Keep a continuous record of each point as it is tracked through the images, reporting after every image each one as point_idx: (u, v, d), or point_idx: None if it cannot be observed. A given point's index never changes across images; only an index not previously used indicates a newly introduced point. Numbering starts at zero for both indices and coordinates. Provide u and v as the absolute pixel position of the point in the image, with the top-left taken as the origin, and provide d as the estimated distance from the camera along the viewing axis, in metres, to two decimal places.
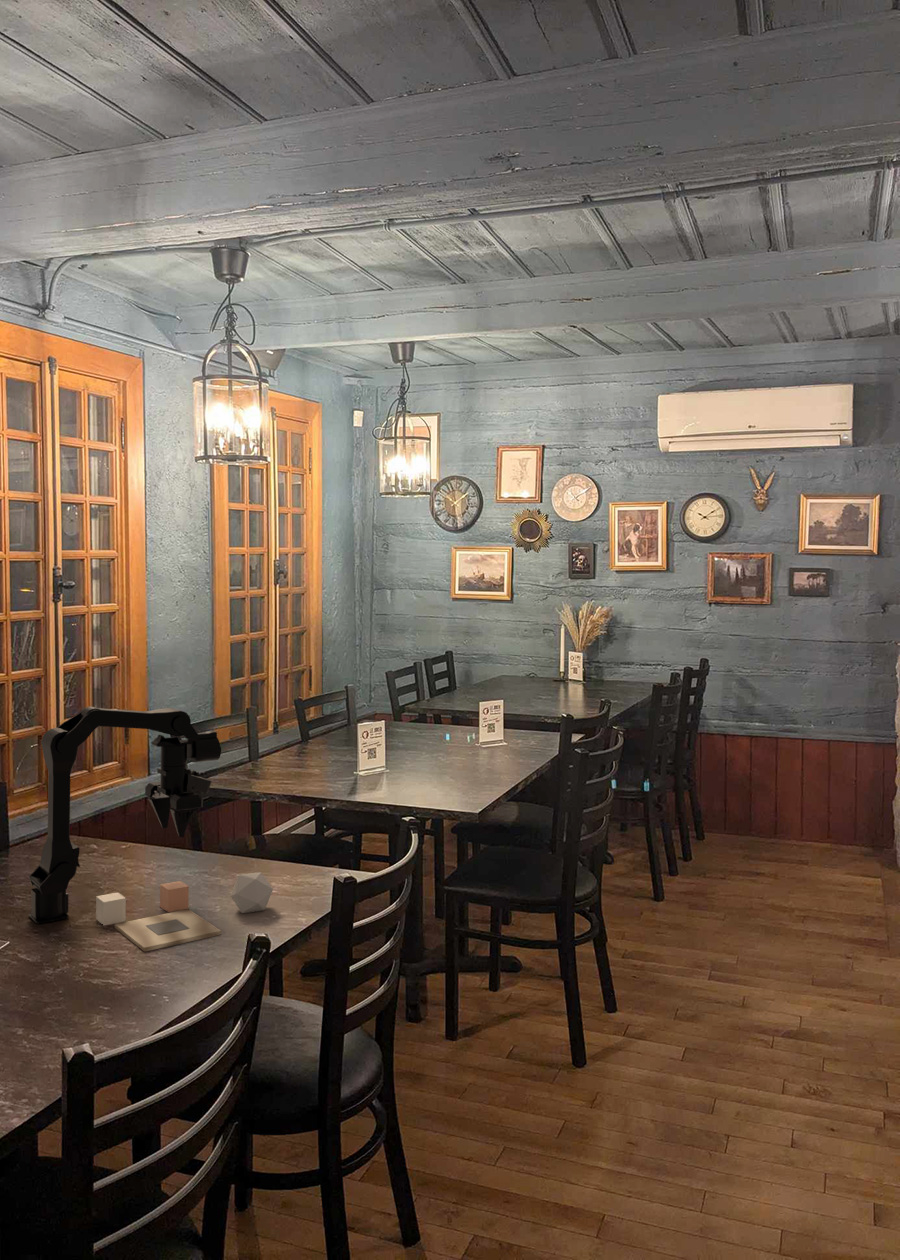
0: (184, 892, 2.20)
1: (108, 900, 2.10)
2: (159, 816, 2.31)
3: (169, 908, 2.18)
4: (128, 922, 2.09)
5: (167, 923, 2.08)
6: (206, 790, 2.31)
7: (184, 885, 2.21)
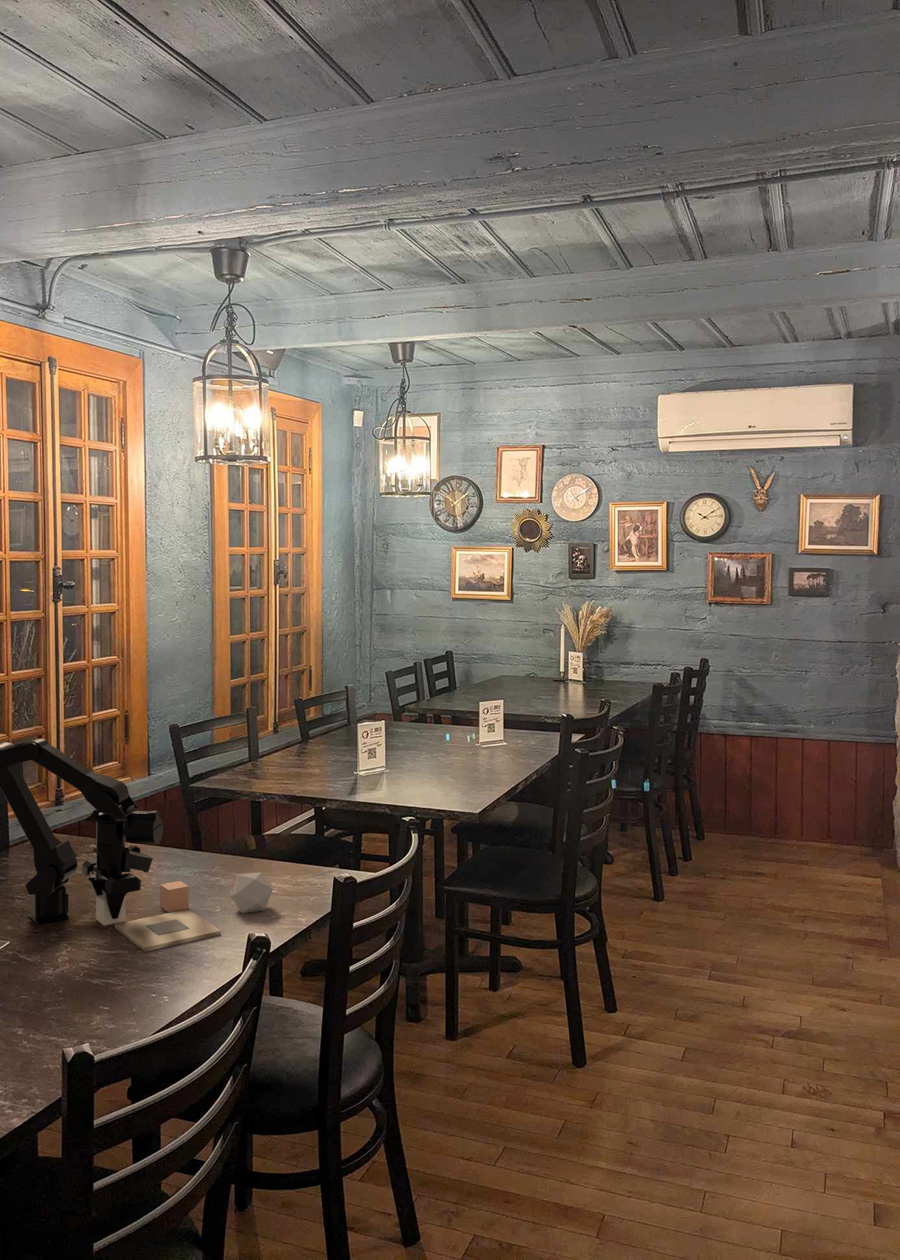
0: (184, 892, 2.20)
1: None
2: None
3: (169, 908, 2.18)
4: (128, 922, 2.09)
5: (167, 923, 2.08)
6: (147, 869, 2.14)
7: (184, 885, 2.21)
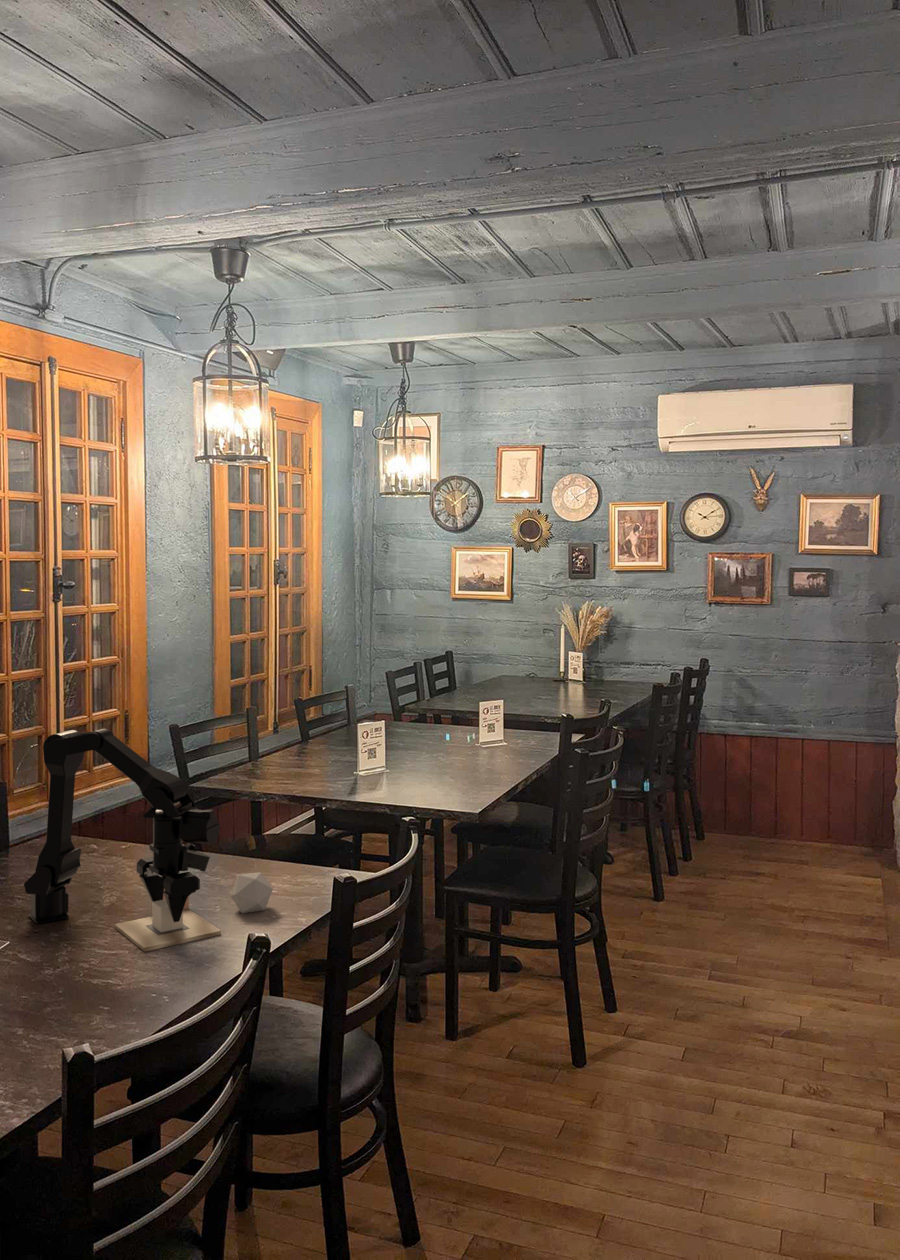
0: None
1: (166, 905, 2.04)
2: (151, 896, 2.09)
3: None
4: (128, 922, 2.09)
5: None
6: (204, 867, 2.08)
7: None
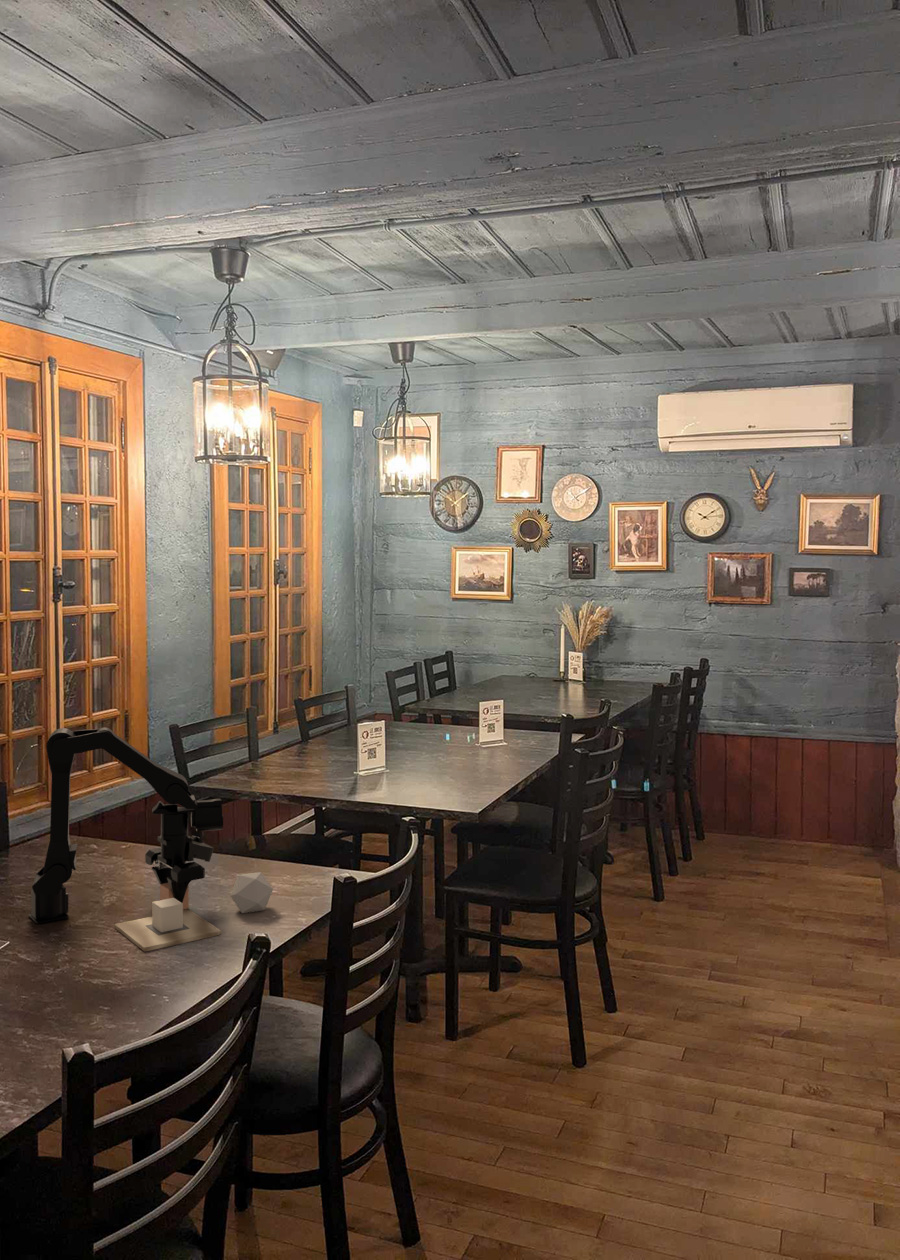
0: None
1: (166, 905, 2.04)
2: None
3: None
4: (128, 922, 2.09)
5: None
6: (208, 858, 2.23)
7: None
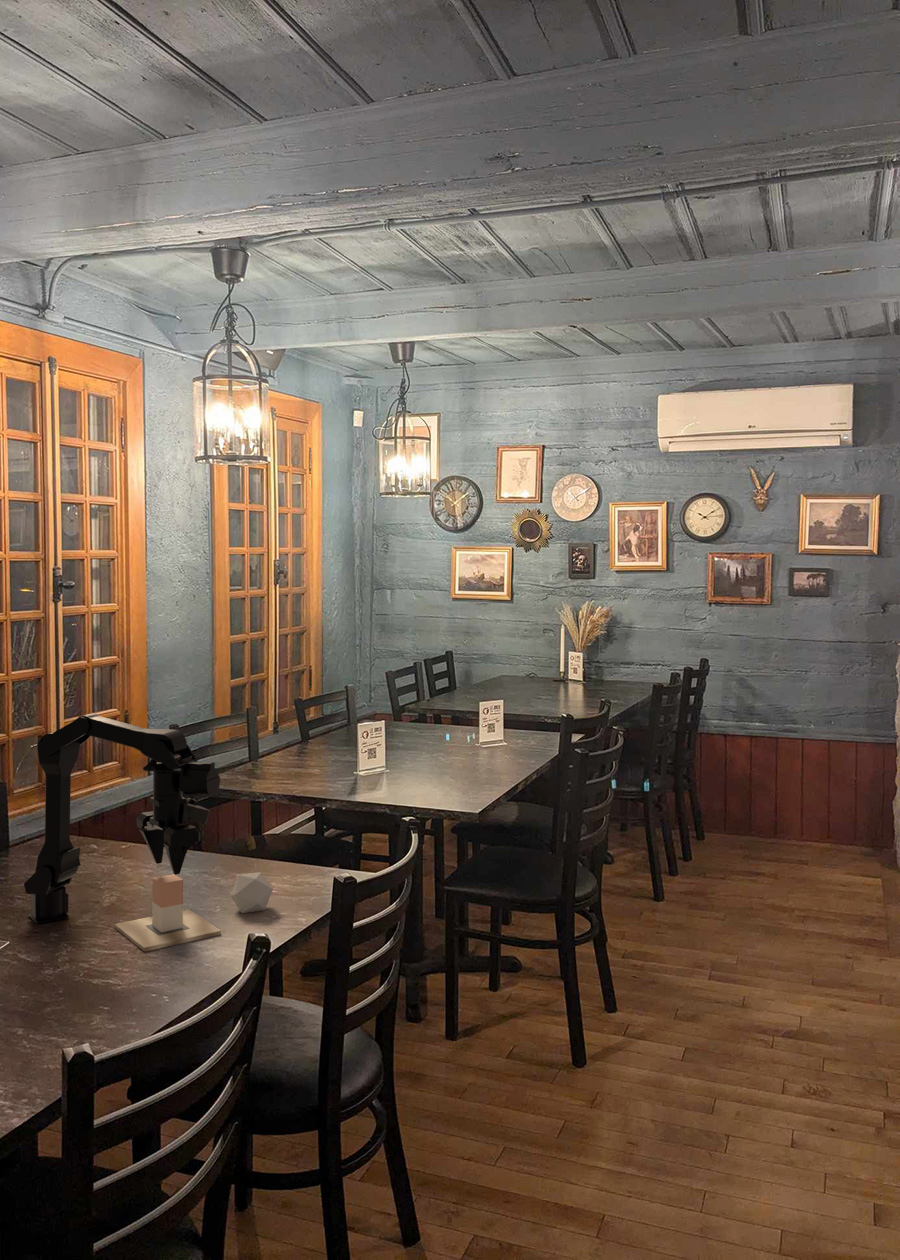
0: (178, 886, 2.05)
1: None
2: (152, 850, 2.08)
3: (162, 903, 2.03)
4: (128, 922, 2.09)
5: None
6: (204, 821, 2.08)
7: (178, 878, 2.06)
